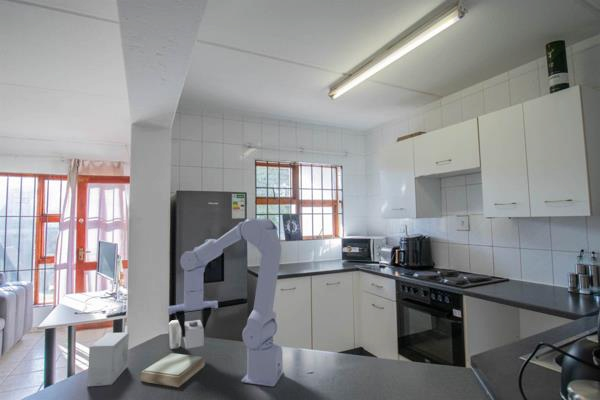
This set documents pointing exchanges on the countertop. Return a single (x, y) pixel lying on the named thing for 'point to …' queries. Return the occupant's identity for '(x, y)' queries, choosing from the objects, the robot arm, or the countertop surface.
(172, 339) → the milkshake
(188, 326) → the block
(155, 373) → the stand
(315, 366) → the countertop surface
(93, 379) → the skincare box
